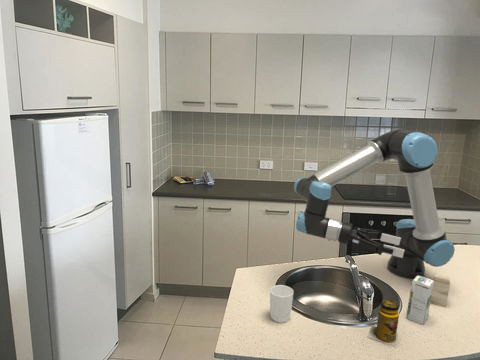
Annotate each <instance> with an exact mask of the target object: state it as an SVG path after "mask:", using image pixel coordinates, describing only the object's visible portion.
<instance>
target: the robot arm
mask: <svg viewBox="0 0 480 360" xmlns="http://www.w3.org/2000/svg"><path fill="white" fill-rule="evenodd" d="M436 157H438V144H437V143H436V141H435V140H434V138H432V137H431V136H429V135H427V134H425V133H423V132H419V131H410V130H405V129H401V128H400V129H399V128H398V129H394V130H391V131H388V132H385V133H384V134H381V135H379V136H377V137H375V138H374V139H371V140H369V141H368V143H367V145H366V146H364V147H362V148H360V149H359V150H357V151H355V152H353V153H351V154H349V155H347V156H346V157H343V158H342V159H340V160H338V161H336V162H335V163H333V164H331V165H329V166H327V167H326V168H324V169H321V170H320V171H318V172H316V173H315V174H313V175H311V176H309V177H300V178H298V179H297V180H296V181H295V182H294V185H293V189H294V192H295V193H296V195H297V196H298V197H299V198H301V199H302V200H303V201H305V202H306V205H305V211H299V213H298V215H297V219H296V224H295V229H296V230H297V232H300V233H303V234H305V235H310V236H312V237H313V236H314V237H318V238H322V239H326V240H327V241H328V242H330V241H333V242H336V241H337V242H339V243H341V244H343V245H344V244H345V245H349V243H350V241H351V245H355V246H358V247H360V248H363V249H365V250H368V251H370V252H372V253H375V254H378V255H379V256H382V254H386V255H388V256H390V257H389V260H388V261H387V270H388V271H389V272H390V273H392V274H394V275H395V276H396V275H397V276H399V277H402V278H407V279H415V278H416V277H417V276H422V277H425V274H426V273H425V272H426V267H425V264H428V265H430V266H431V267H435V268H438V267H442V266H445V265H447V264H448V263H449V262H450V261H451V259H452V258H453V257H454V254H455V245H454V244H453V243H452V242H451V241H450V239H447V235H446V229H445V227H443V226H442V225H440V220H439V214H438V210H437V203H436V199H435V194H434V188H433V187H434V186H433V182H432V176H431V170H432V168H433V167H434V162H435V161H436ZM388 160H395V161H397V164H398V169H399V172H400V173H402V174H403V175H404V178H405V182H406V188H407V193H408V197H409V198H408V199H409V201H410V207H411V212H412V217H413V219H412V218H406V219H405V218H403V219H400V220H398V221H397V224H396V228H395V229H396V230H395V235H391V234H388V233H383V230H381V229H379V230H376V229H369V228H360V227H356V226H354V229H353V224H352V223H350V222H345V221H342V222H341V220H339V219H335V218H334V219H333V218H329V217H327V216H326V215H327V211H328V207H329V203H330V200H331V199H330V198H331V194H332V187H333V186H335V185H337V184H339V183H342V182H343V181H345V180H347V179H349V178H350V177H351V176H352V177H353V176H354V175H356V174H358V173H359V172H361V171H363V170H365V169H367V168H369V167H370V166H372V165H375V164H376V163H378V164H382V163H384V162H386V161H388ZM375 240H380V242H384V243H387V244H393V245H394V246H392V245H387V244H382V243H379V242H376V241H375Z"/></svg>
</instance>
